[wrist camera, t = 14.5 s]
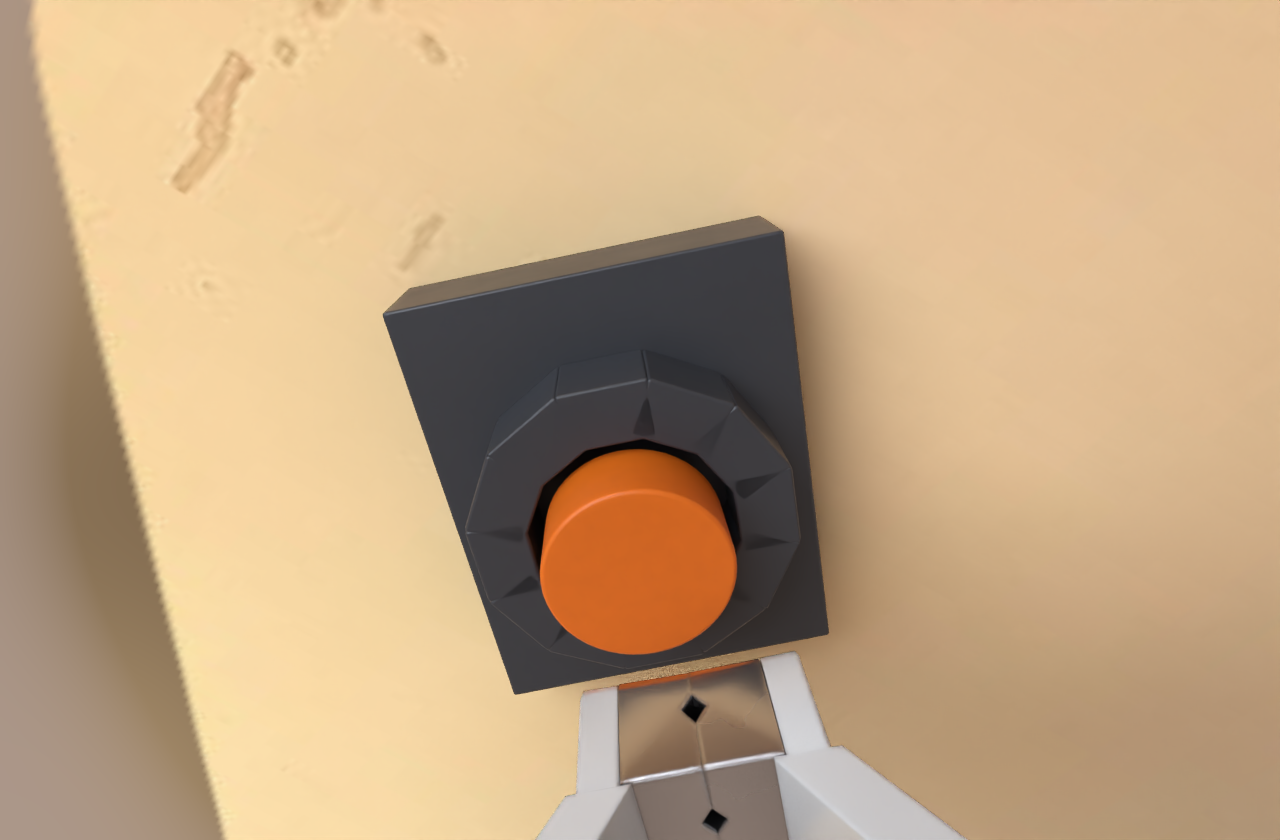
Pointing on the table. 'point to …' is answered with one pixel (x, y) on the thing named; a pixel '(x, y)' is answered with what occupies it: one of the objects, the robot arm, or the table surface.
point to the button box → (620, 423)
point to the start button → (636, 553)
